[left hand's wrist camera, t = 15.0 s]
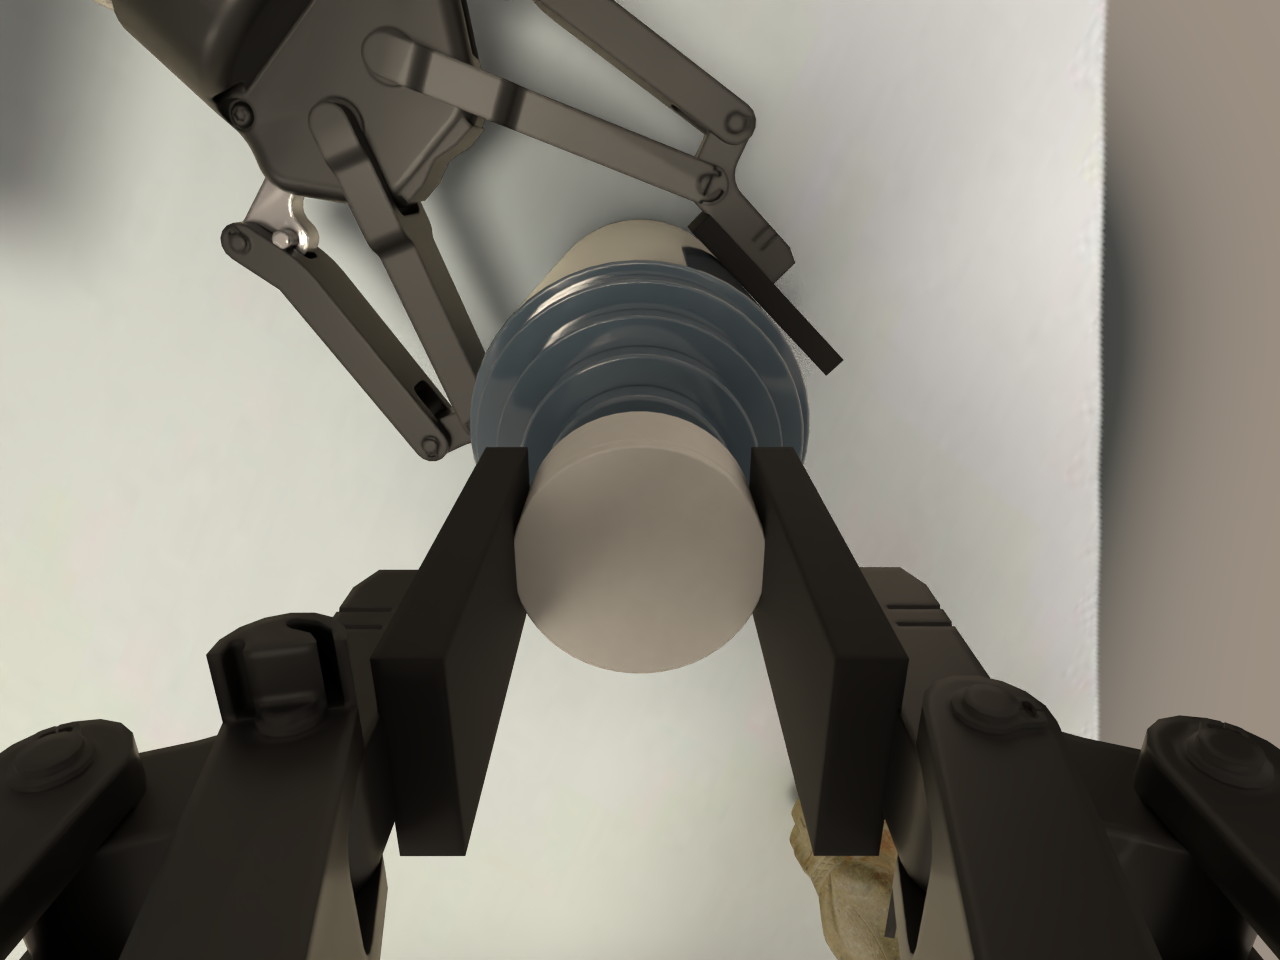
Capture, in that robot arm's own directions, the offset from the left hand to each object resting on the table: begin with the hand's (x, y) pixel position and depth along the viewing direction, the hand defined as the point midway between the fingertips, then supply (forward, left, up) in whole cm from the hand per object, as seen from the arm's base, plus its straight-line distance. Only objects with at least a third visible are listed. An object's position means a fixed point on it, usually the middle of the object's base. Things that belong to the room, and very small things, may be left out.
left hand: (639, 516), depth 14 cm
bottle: (0, 0, -20) cm, 20 cm away
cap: (0, 0, +2) cm, 2 cm away
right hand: (-4, -2, -14) cm, 14 cm away
